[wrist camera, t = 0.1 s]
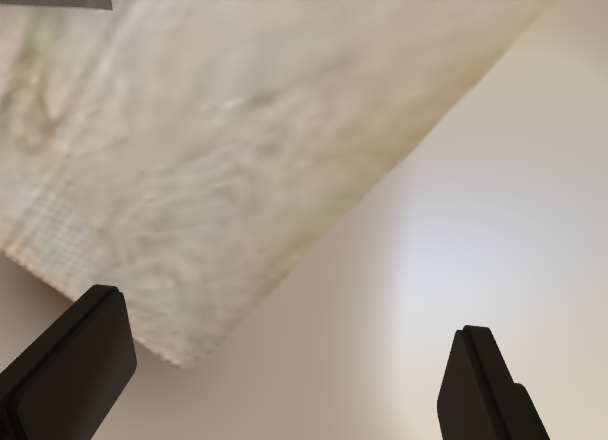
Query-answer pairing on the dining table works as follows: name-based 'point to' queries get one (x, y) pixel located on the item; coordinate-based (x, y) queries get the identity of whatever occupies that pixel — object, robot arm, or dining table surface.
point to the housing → (61, 3)
